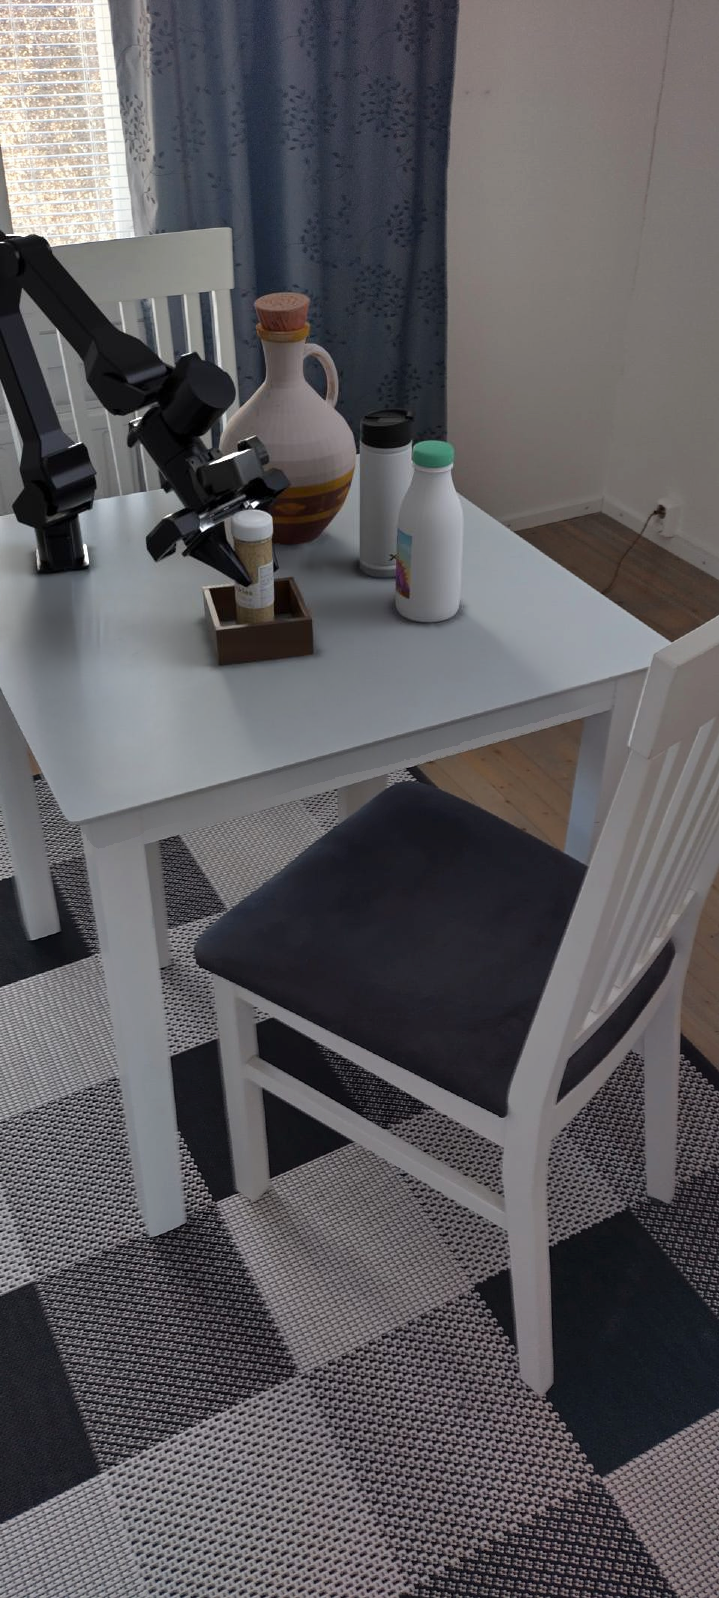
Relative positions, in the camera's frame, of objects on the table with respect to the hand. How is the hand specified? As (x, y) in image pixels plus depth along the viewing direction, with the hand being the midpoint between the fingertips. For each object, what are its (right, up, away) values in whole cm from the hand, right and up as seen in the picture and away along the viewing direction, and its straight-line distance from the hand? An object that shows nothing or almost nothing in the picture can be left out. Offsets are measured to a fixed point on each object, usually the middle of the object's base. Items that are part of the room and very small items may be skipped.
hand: (262, 578), depth 131 cm
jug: (+2, +12, +29) cm, 31 cm away
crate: (-1, -6, +5) cm, 8 cm away
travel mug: (+14, +5, +20) cm, 25 cm away
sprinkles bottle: (-1, -5, +5) cm, 7 cm away
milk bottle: (+19, -2, +11) cm, 22 cm away
